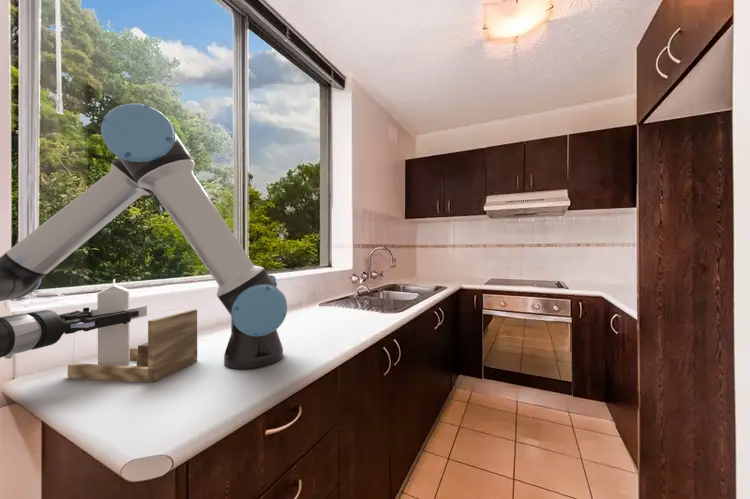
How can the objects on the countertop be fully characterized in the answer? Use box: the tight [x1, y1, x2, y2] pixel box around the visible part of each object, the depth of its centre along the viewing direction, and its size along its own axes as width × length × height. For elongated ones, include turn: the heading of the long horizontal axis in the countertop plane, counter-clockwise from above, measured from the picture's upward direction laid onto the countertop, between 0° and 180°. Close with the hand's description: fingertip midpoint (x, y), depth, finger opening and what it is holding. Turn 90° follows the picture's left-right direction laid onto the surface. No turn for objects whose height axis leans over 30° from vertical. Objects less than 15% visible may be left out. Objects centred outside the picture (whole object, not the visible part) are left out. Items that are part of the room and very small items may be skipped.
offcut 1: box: [137, 342, 148, 356], centre depth 78 cm, size 5×6×2 cm
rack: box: [67, 309, 198, 383], centre depth 79 cm, size 23×14×14 cm, turn 82°
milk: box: [96, 278, 131, 366], centre depth 80 cm, size 6×6×22 cm
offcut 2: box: [136, 356, 148, 367], centre depth 78 cm, size 5×7×2 cm
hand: (130, 310), depth 84 cm, fingers closed on milk, 8 cm apart
